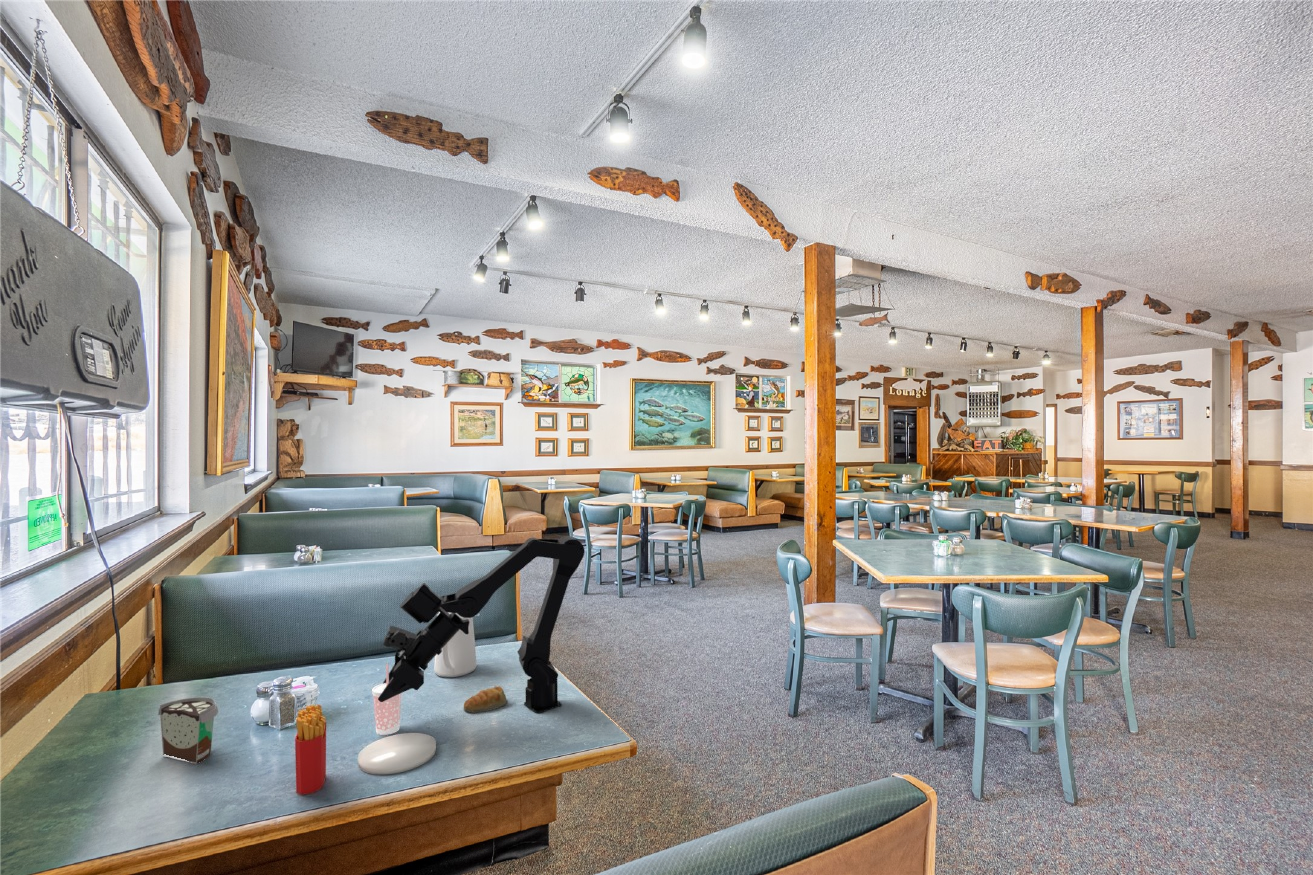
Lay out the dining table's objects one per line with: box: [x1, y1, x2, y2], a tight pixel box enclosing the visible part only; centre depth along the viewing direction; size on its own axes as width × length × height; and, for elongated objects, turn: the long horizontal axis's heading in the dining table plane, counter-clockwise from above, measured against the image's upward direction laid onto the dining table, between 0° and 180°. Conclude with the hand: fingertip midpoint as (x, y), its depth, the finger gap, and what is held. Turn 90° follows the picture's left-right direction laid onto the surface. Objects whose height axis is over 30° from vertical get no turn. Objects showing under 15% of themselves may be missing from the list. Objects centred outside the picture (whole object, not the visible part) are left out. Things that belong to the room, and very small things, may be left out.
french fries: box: [294, 703, 327, 796], centre depth 112 cm, size 9×4×13 cm, turn 20°
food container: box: [157, 696, 219, 765], centre depth 123 cm, size 12×6×10 cm, turn 71°
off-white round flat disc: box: [357, 732, 437, 775], centre depth 121 cm, size 14×14×1 cm
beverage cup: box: [371, 663, 402, 736], centre depth 132 cm, size 6×6×14 cm
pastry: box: [462, 685, 508, 713], centre depth 144 cm, size 9×7×4 cm
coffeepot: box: [433, 612, 477, 678], centre depth 168 cm, size 11×25×19 cm, turn 6°
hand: (380, 695), depth 132 cm, fingers closed on beverage cup, 6 cm apart
